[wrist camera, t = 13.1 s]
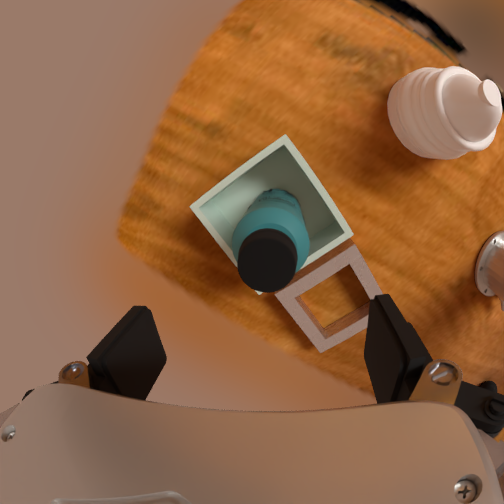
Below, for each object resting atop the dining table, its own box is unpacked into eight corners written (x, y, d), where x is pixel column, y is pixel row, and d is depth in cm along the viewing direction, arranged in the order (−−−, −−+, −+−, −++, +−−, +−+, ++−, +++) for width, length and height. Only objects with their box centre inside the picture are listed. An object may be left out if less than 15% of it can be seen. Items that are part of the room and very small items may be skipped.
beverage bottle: (304, 229, 37) (324, 305, 18) (255, 237, 38) (228, 316, 19) (296, 181, 35) (313, 209, 16) (246, 190, 36) (206, 227, 17)
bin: (341, 220, 37) (353, 234, 30) (263, 272, 40) (258, 295, 34) (285, 138, 34) (285, 134, 27) (205, 197, 38) (189, 206, 31)
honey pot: (382, 145, 32) (455, 141, 16) (389, 64, 28) (451, 16, 11) (453, 168, 32) (535, 185, 15) (458, 93, 27) (534, 76, 10)
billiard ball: (490, 384, 45) (499, 398, 39) (474, 396, 46) (482, 410, 41) (491, 373, 43) (501, 387, 38) (474, 385, 45) (483, 400, 39)
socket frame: (386, 302, 40) (392, 311, 37) (318, 341, 44) (320, 353, 41) (349, 237, 37) (354, 244, 34) (275, 285, 41) (274, 294, 38)
